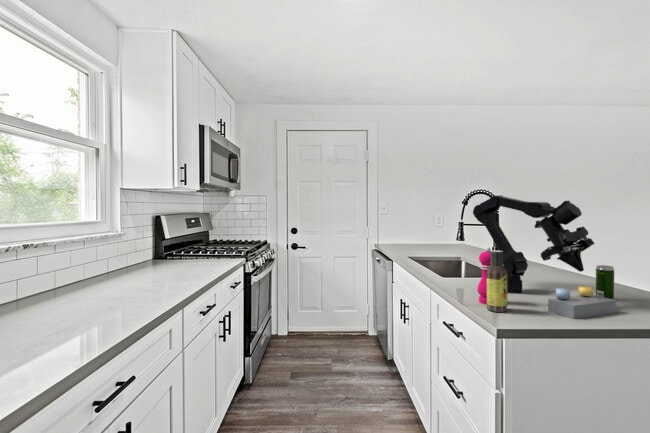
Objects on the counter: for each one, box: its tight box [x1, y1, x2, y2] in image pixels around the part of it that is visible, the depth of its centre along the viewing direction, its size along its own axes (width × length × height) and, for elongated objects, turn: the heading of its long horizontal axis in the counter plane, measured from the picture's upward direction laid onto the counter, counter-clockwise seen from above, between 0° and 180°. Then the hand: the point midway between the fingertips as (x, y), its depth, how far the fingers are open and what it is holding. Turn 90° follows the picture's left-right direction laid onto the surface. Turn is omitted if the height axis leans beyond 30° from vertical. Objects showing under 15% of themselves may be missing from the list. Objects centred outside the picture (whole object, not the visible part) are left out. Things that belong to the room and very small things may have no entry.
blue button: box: [555, 287, 571, 300], centre depth 123 cm, size 4×4×6 cm
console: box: [547, 294, 617, 320], centre depth 123 cm, size 18×9×4 cm, turn 108°
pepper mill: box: [477, 246, 491, 305], centre depth 136 cm, size 7×7×20 cm
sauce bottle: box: [486, 249, 508, 313], centre depth 126 cm, size 6×6×20 cm
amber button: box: [578, 285, 594, 298], centre depth 126 cm, size 4×4×6 cm
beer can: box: [595, 264, 615, 300], centre depth 137 cm, size 5×5×12 cm
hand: (582, 271), depth 128 cm, fingers closed
